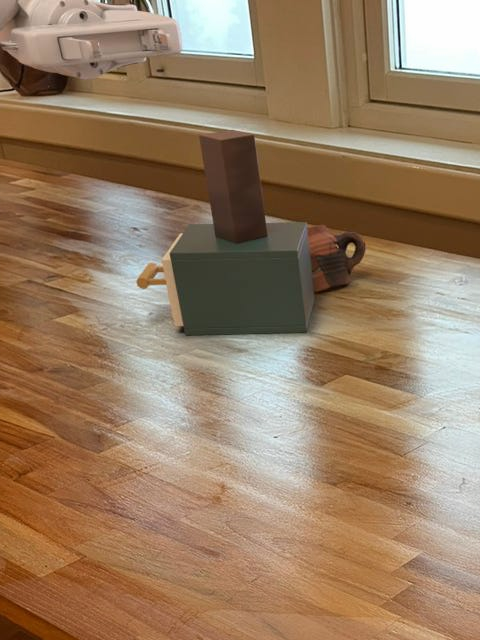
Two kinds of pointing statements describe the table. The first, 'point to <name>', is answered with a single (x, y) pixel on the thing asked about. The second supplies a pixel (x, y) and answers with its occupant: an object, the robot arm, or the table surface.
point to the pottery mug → (332, 256)
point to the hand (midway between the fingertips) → (131, 46)
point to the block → (234, 185)
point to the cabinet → (244, 281)
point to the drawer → (163, 282)
